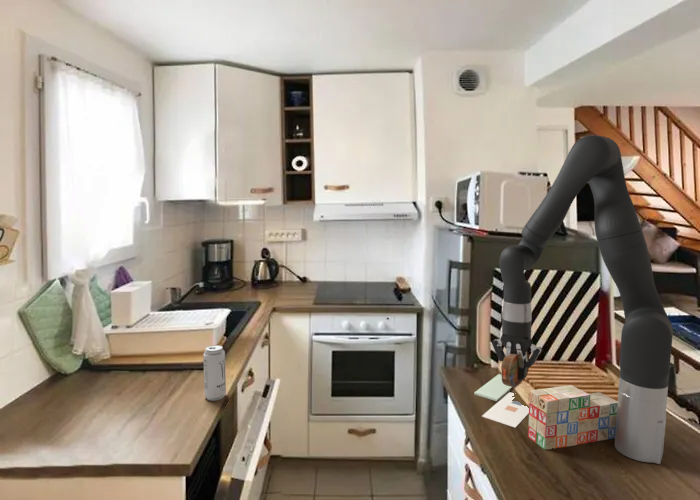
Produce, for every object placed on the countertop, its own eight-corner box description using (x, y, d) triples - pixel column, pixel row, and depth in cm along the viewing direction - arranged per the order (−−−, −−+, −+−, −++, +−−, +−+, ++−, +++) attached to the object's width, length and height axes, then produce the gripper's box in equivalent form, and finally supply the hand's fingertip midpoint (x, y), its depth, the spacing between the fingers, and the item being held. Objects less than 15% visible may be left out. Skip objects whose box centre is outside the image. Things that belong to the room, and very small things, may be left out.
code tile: (539, 404, 127) (540, 400, 127) (515, 431, 112) (515, 427, 112) (509, 395, 133) (509, 391, 133) (481, 419, 118) (481, 415, 117)
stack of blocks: (597, 425, 113) (601, 380, 112) (618, 438, 107) (621, 390, 106) (527, 436, 108) (529, 389, 106) (544, 450, 102) (547, 400, 100)
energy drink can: (222, 401, 125) (221, 351, 124) (201, 401, 125) (200, 351, 124) (228, 392, 131) (227, 344, 130) (208, 392, 131) (207, 344, 130)
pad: (519, 381, 141) (520, 379, 141) (496, 401, 126) (496, 399, 126) (498, 375, 145) (498, 373, 145) (474, 394, 131) (474, 392, 131)
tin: (510, 391, 114) (511, 360, 114) (498, 388, 117) (499, 358, 116) (529, 374, 126) (531, 346, 125) (518, 372, 128) (520, 344, 127)
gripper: (547, 318, 118) (546, 380, 119) (497, 311, 127) (496, 368, 128) (538, 324, 112) (536, 389, 114) (486, 316, 121) (485, 376, 123)
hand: (515, 378), depth 121 cm, fingers closed on tin, 2 cm apart
